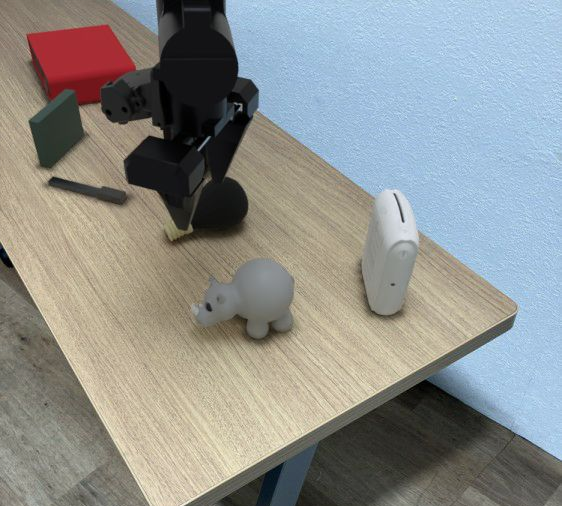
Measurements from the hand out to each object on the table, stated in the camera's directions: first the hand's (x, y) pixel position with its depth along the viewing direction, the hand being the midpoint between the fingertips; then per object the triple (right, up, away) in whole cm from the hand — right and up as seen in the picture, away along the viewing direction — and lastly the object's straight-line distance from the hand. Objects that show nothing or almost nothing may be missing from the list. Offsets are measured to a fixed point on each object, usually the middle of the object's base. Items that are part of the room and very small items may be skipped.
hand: (200, 205), depth 65 cm
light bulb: (-2, +2, +18) cm, 19 cm away
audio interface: (-26, +33, +42) cm, 60 cm away
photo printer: (+21, -7, +13) cm, 26 cm away
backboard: (-24, +16, +28) cm, 40 cm away
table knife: (-19, +8, +22) cm, 30 cm away
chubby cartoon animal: (+4, -12, +7) cm, 15 cm away
